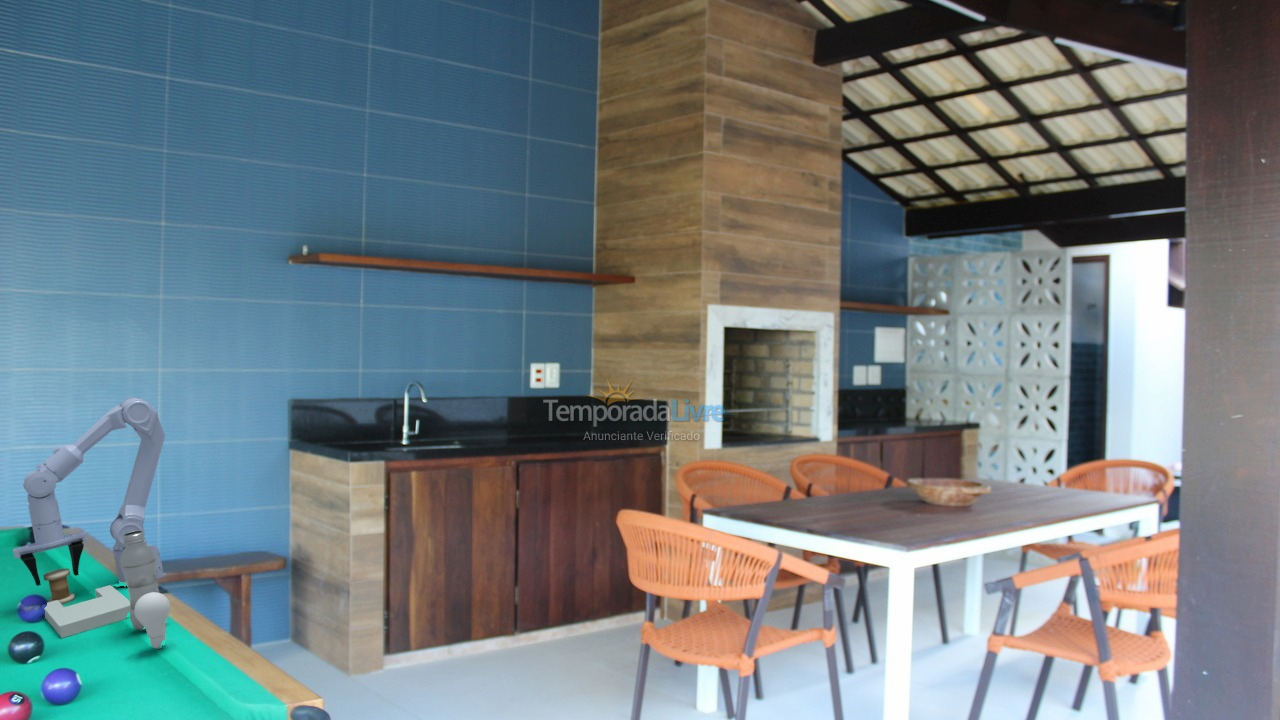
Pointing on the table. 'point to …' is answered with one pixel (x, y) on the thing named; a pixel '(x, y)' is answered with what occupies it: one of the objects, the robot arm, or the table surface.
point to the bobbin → (59, 586)
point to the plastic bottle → (138, 570)
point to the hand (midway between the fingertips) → (57, 579)
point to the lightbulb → (153, 616)
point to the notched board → (88, 612)
